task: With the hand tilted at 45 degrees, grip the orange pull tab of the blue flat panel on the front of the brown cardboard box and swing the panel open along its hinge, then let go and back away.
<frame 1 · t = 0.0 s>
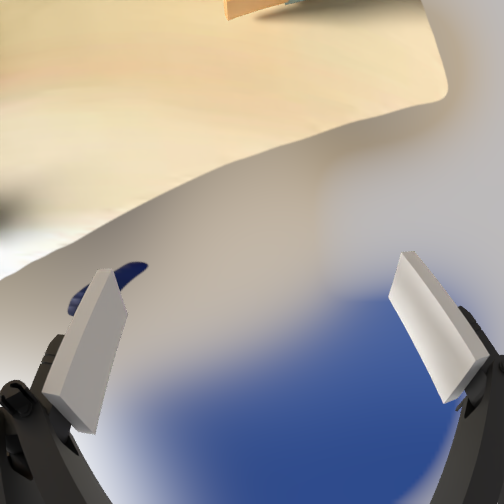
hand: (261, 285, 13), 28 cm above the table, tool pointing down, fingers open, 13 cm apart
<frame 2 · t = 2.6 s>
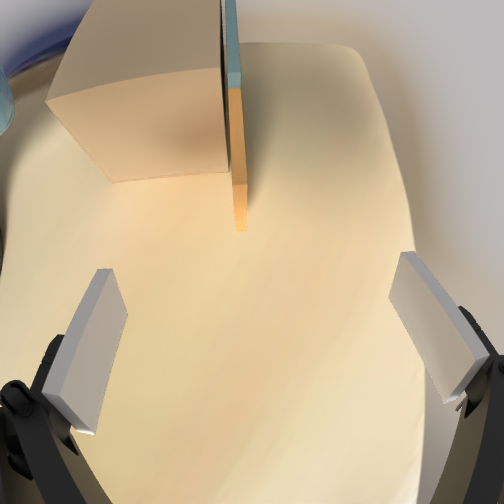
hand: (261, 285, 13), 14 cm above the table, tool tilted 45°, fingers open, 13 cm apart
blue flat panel: (233, 93, 23), point 7 cm above the table, hinge at 0.0°
kraft box: (171, 120, 30), on the table
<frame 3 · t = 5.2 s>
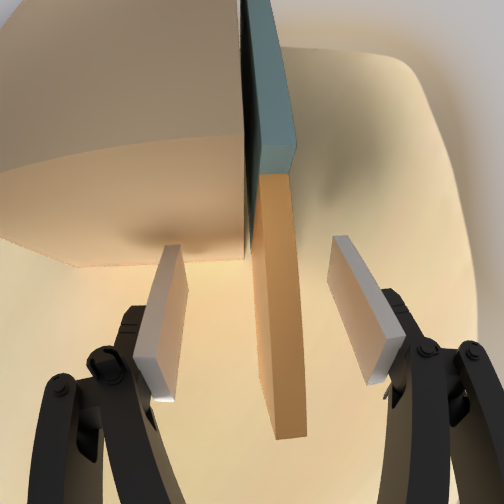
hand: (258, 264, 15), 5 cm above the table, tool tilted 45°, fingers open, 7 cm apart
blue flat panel: (258, 149, 13), point 7 cm above the table, hinge at 0.0°
kraft box: (156, 168, 21), on the table
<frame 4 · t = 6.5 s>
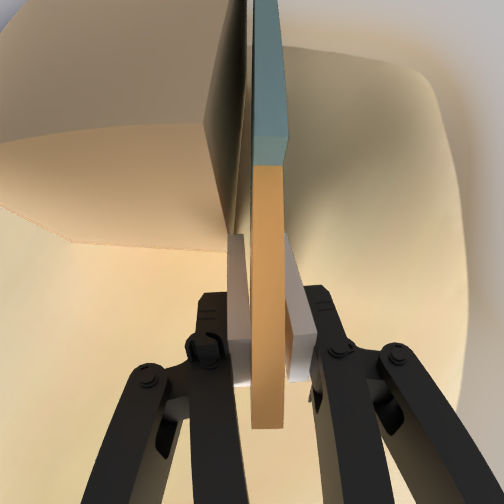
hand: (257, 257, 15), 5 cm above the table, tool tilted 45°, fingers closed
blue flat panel: (260, 143, 13), point 7 cm above the table, hinge at 3.1°, touching gripper
kraft box: (159, 155, 21), on the table
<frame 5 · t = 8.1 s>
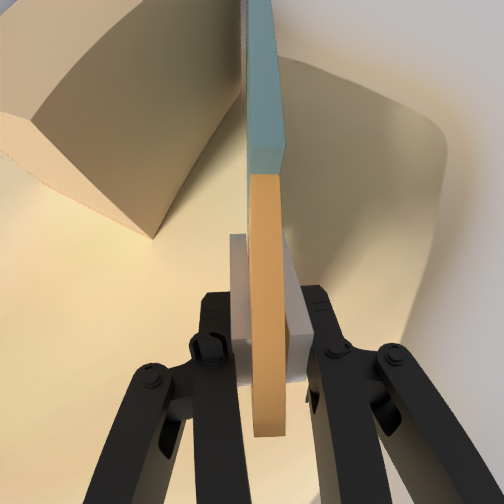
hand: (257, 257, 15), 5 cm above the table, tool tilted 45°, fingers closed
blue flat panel: (256, 150, 13), point 7 cm above the table, hinge at 25.4°, touching gripper
kraft box: (135, 132, 22), on the table
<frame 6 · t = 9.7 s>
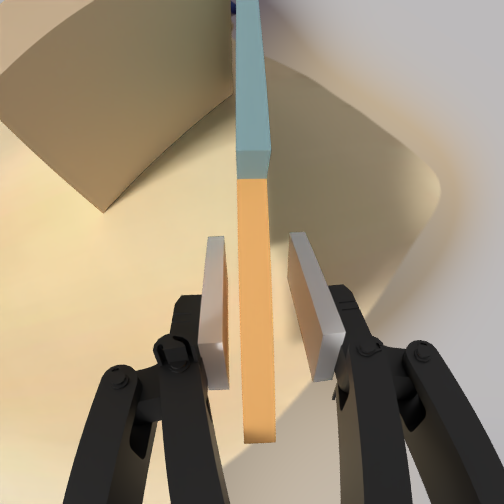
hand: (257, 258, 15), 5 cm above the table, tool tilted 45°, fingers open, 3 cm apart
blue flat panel: (246, 153, 13), point 8 cm above the table, hinge at 43.0°
kraft box: (125, 111, 22), on the table
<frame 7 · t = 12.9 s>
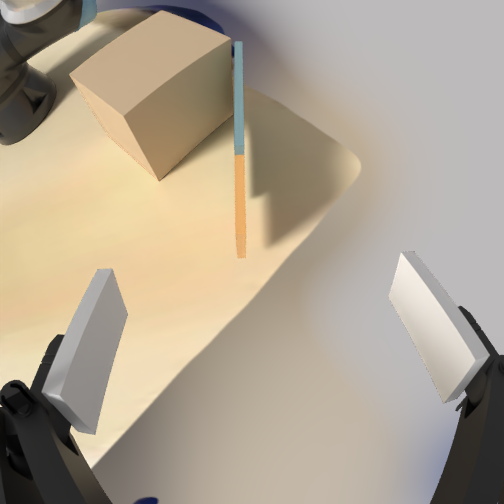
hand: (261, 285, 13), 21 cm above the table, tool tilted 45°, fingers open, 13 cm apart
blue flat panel: (239, 148, 30), point 7 cm above the table, hinge at 43.0°
kraft box: (168, 123, 40), on the table
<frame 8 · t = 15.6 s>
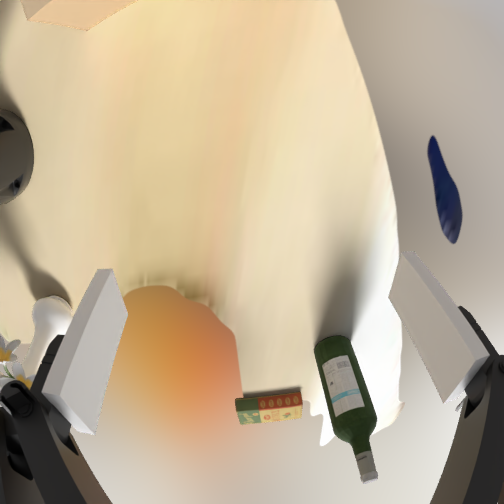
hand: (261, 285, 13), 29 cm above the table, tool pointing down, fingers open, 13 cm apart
wine bottle: (331, 346, 61), on the table
flower vase: (56, 303, 50), on the table
carton: (268, 401, 72), on the table
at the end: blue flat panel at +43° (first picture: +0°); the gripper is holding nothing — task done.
